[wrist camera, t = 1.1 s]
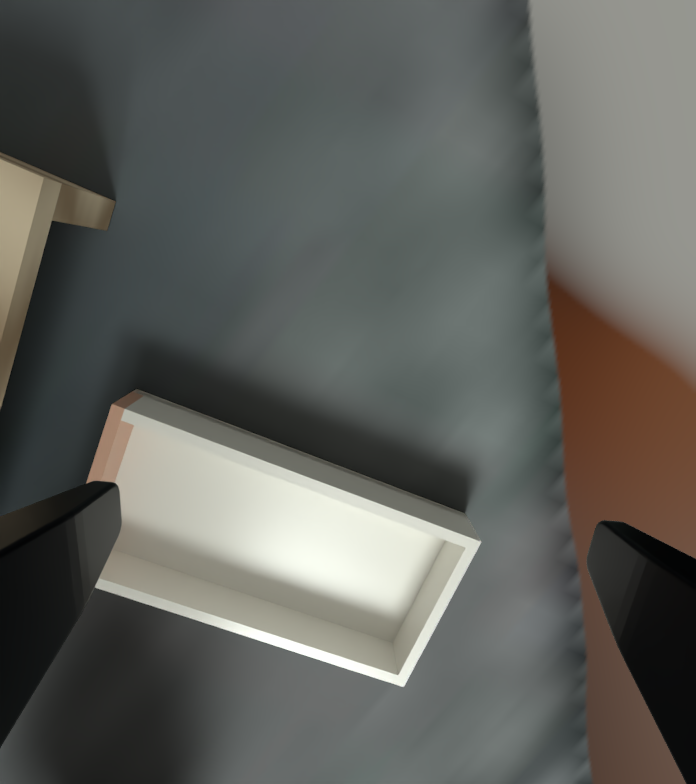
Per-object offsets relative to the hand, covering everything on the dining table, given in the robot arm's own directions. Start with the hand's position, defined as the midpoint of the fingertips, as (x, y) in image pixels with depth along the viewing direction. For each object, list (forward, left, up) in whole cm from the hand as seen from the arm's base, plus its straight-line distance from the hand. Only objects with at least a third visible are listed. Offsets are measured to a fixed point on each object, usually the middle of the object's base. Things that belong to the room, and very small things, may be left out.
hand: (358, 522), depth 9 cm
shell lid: (-8, 0, -13) cm, 15 cm away
